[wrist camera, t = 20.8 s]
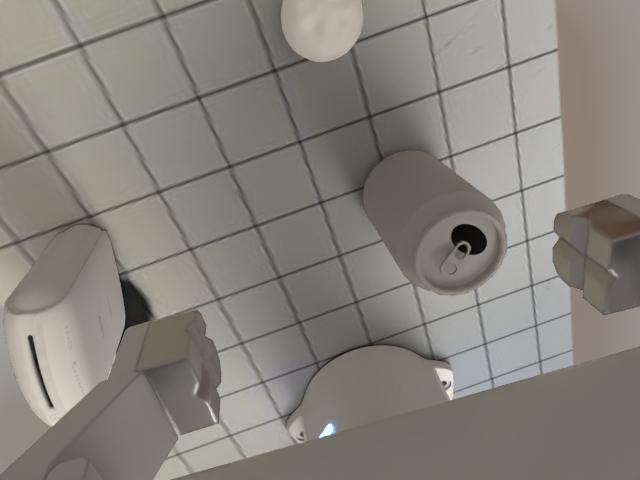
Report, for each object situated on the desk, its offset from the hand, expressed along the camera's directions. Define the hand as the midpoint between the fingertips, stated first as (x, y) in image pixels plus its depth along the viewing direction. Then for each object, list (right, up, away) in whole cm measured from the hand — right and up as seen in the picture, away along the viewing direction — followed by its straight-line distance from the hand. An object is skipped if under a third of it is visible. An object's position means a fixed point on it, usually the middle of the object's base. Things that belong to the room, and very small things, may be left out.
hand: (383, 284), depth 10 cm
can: (+6, +5, +29) cm, 30 cm away
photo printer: (-20, -2, +28) cm, 35 cm away
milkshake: (-3, +17, +22) cm, 28 cm away
